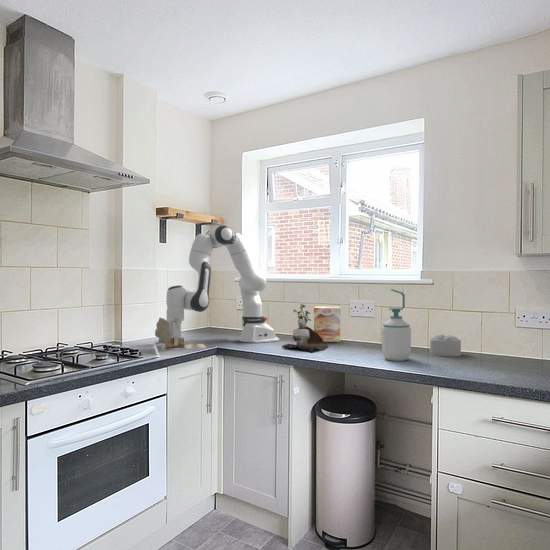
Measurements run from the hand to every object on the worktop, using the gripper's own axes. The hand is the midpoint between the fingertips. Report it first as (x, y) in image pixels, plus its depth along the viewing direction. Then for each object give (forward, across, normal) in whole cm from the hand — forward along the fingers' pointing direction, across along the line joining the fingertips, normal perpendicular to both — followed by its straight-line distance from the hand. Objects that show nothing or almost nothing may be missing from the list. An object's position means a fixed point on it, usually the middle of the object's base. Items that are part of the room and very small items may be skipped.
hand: (175, 344), depth 217 cm
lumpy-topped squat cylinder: (+3, -60, -118) cm, 132 cm away
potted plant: (+3, -20, -65) cm, 68 cm away
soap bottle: (+3, -62, -90) cm, 109 cm away
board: (+3, 0, -4) cm, 5 cm away
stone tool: (+3, +20, +4) cm, 20 cm away
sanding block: (+1, 0, 0) cm, 1 cm away
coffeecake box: (+3, -2, -85) cm, 85 cm away
